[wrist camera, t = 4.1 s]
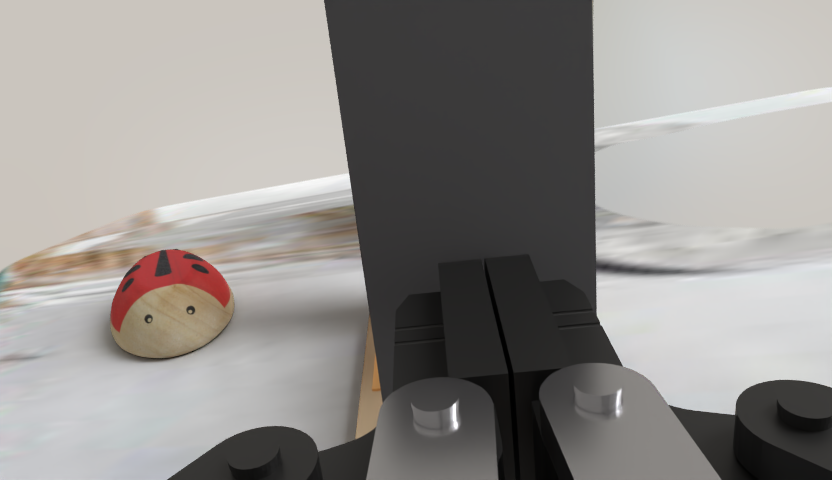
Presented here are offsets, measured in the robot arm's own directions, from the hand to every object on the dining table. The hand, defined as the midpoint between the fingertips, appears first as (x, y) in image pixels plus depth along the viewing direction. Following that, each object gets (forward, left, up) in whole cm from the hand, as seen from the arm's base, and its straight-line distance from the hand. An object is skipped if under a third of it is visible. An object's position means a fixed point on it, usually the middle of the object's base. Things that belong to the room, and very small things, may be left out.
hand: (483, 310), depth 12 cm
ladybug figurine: (+11, -28, -13) cm, 32 cm away
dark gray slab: (0, -2, -10) cm, 10 cm away
